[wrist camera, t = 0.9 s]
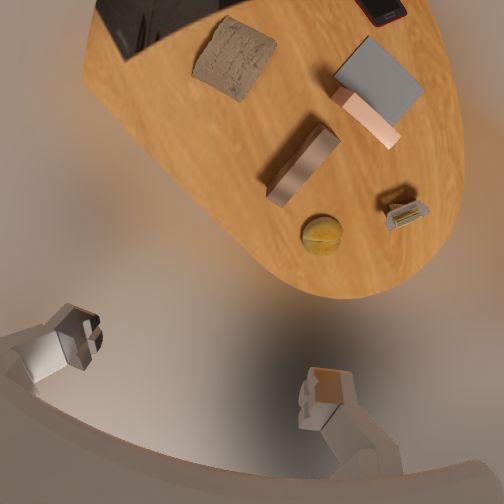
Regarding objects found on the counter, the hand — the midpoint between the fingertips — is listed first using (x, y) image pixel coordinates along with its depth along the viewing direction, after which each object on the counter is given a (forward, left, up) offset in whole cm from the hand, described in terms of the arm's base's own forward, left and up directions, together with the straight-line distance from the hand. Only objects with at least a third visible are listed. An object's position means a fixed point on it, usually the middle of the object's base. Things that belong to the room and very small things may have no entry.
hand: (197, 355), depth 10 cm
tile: (-11, +14, -45) cm, 48 cm away
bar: (+3, +12, -45) cm, 46 cm away
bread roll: (+13, +26, -45) cm, 54 cm away
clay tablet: (-6, -8, -45) cm, 47 cm away
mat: (-18, +14, -45) cm, 50 cm away
